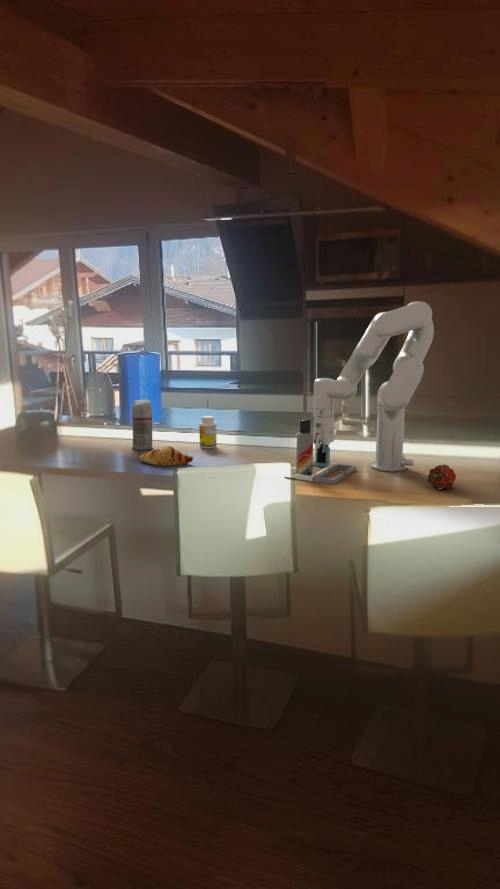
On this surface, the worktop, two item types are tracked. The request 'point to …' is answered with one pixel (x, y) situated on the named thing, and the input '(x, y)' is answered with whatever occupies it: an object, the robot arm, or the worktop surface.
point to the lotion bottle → (304, 449)
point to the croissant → (165, 457)
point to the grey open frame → (332, 481)
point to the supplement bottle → (207, 432)
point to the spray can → (142, 424)
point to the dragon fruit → (442, 476)
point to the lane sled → (327, 465)
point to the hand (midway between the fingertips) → (322, 461)
